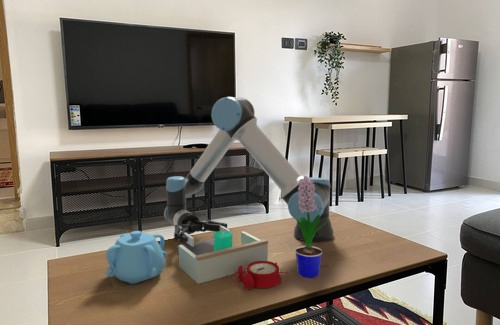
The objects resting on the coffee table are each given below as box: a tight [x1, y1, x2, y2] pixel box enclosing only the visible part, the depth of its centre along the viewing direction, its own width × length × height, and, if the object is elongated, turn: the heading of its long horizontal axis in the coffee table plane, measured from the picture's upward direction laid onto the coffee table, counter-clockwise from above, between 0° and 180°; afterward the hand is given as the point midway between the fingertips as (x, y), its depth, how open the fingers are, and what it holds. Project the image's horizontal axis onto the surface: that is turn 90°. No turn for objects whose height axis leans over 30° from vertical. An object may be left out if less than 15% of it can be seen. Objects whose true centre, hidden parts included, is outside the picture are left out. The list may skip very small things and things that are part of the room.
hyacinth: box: [294, 175, 328, 279], centre depth 112 cm, size 9×10×30 cm
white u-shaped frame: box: [178, 231, 269, 285], centre depth 120 cm, size 24×14×8 cm, turn 123°
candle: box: [213, 231, 233, 251], centre depth 120 cm, size 6×6×12 cm
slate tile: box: [176, 238, 214, 256], centre depth 133 cm, size 14×14×1 cm
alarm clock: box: [230, 260, 288, 290], centre depth 109 cm, size 11×6×15 cm
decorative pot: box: [105, 230, 167, 285], centre depth 113 cm, size 16×16×14 cm
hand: (211, 238), depth 125 cm, fingers open, 13 cm apart
